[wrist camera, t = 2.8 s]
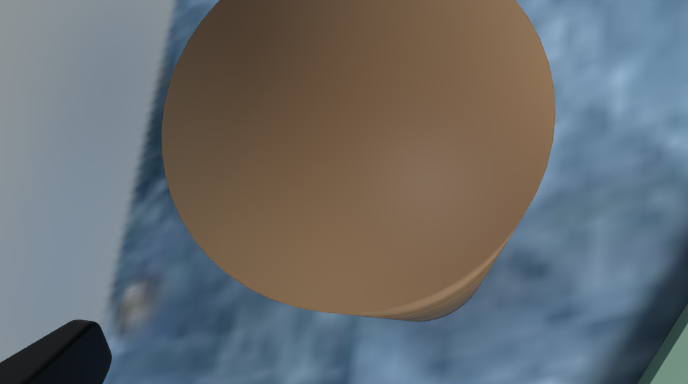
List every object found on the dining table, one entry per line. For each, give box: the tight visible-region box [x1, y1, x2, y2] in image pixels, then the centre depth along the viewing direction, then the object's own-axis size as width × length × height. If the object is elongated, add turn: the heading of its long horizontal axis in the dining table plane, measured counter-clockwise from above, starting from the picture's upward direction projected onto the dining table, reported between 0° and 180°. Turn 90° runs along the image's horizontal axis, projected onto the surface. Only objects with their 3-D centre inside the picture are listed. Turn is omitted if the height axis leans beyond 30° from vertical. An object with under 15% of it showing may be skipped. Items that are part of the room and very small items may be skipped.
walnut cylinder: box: [161, 0, 555, 321], centre depth 13 cm, size 5×5×13 cm
